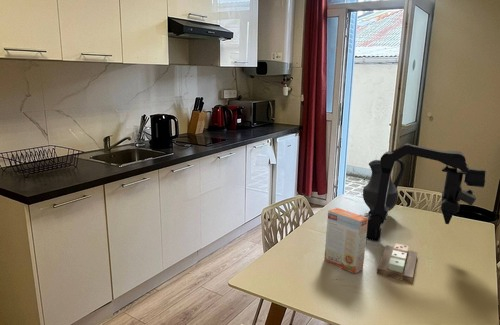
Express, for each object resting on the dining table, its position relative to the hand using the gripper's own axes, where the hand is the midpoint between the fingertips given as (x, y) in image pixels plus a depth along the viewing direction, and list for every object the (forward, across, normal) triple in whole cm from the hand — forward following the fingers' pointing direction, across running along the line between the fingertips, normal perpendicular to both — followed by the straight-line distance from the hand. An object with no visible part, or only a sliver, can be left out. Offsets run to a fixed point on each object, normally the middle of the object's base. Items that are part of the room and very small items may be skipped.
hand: (447, 220), depth 148 cm
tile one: (+13, -27, +15) cm, 33 cm away
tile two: (+13, -20, +15) cm, 28 cm away
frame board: (+15, -20, +15) cm, 29 cm away
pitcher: (+15, +33, +29) cm, 47 cm away
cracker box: (+15, -31, +33) cm, 48 cm away
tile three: (+13, -13, +15) cm, 24 cm away
